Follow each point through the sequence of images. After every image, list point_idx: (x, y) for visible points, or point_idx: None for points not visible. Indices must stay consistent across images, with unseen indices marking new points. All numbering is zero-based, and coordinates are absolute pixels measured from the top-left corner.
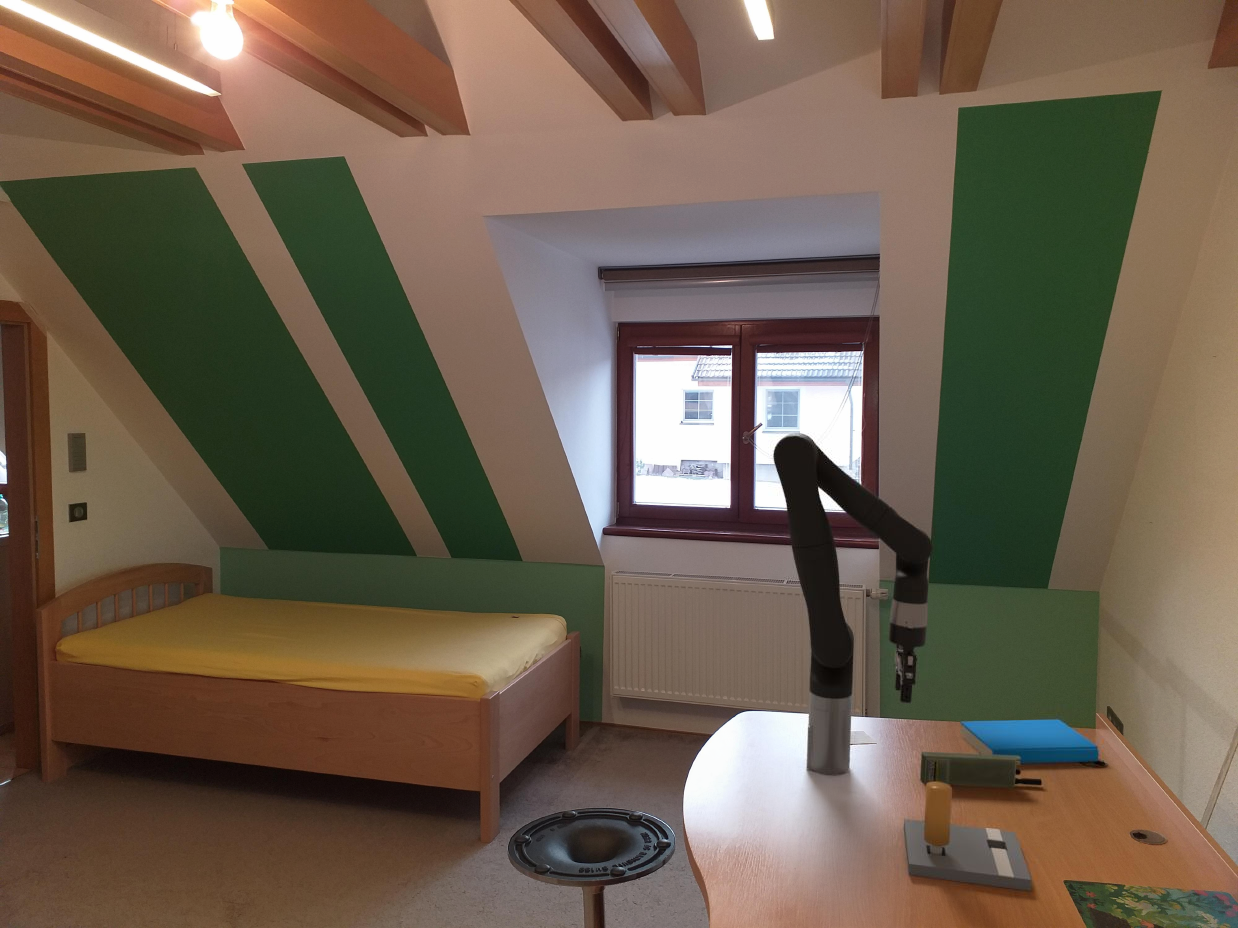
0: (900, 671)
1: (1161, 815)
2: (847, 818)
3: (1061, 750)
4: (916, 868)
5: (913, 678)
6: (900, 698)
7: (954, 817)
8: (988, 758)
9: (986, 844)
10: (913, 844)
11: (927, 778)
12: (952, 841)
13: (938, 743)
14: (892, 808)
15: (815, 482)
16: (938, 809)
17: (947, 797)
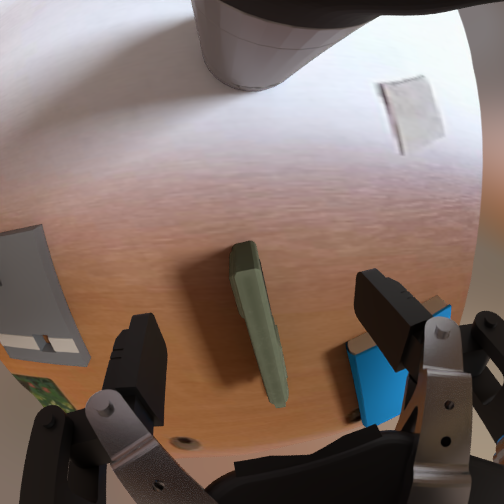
0: (113, 467)
1: (240, 452)
2: (35, 131)
3: (363, 408)
4: None
5: (69, 473)
6: (131, 322)
7: (113, 296)
8: (263, 376)
9: (37, 332)
10: None
11: (229, 258)
12: (18, 296)
13: (413, 266)
14: (94, 197)
15: None
16: None
17: None
